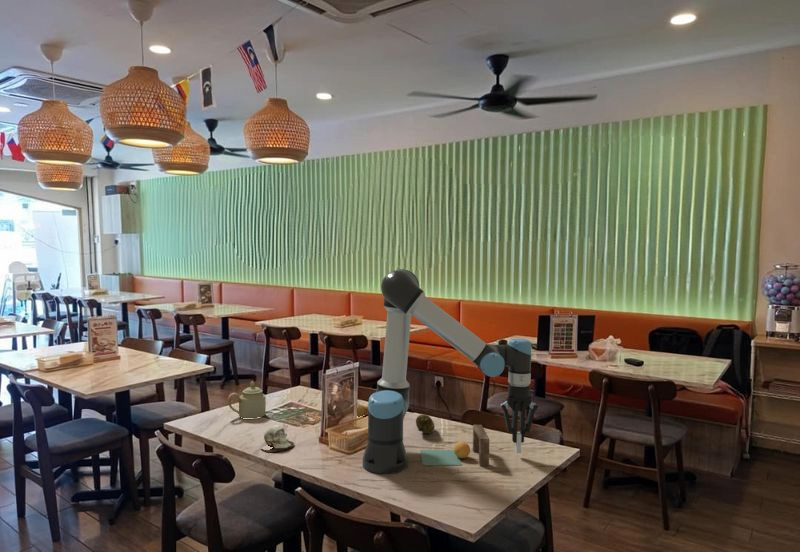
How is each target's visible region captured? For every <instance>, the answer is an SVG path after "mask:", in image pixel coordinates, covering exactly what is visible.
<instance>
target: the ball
mask: <svg viewBox="0 0 800 552" xmlns="http://www.w3.org/2000/svg"><path fill="white" fill-rule="evenodd" d="M453 450H454V453H455V455H456V456H457V457H459V459H466V458H468V456H470V452H471V448H470V445H469V444H468V443H467V442H466V441H458V442H457V443H456V444H455V445H454V447H453Z"/></svg>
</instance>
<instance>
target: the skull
mask: <svg viewBox="0 0 800 552" xmlns="http://www.w3.org/2000/svg"><path fill="white" fill-rule="evenodd" d="M263 439H264V442H265V444H266V445H268V446H270V447H273V448H272V449H270V450H266V451H265V450H264V451H263V452H270V453H272V452H280V451H285V450H288V449H291V448H292V447H294V445H295V442H293V441H290V440H289V438H288V433H287V432H286V431H285V429H284V427H282V426H281V425H276V424H274V425H271V426H270V427H269V428H268V429H266V431H265V432H264V435H263Z"/></svg>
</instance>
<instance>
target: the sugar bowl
mask: <svg viewBox="0 0 800 552" xmlns="http://www.w3.org/2000/svg"><path fill="white" fill-rule="evenodd" d="M249 384H250V386H249V387H246V388H245V389H244V390H242V394H241V395H239V394H238V393H237V392H232V393H230V394H229V395H228V397H227V405H228V407H229V408H230V409H231V411H234V412H235V413H237V414H238V417H239V416H240V417H242V418H257V417H262V416H264V415H265V416H266V407H267V405H266V401H267V399H266V394H264V393H262V392H263V391H264V390H263V389H261V388H260V387H258V386H256V383H255V382H254V381H253V380H252V381H251V382H250V383H249ZM233 396H236V399H237V402H238V410H237V409H235V408H234V407H233V406H232V403H231V400H232V397H233ZM265 416H264V417H265ZM240 417H239V418H240ZM242 418H241V419H242ZM262 418H263V417H262Z"/></svg>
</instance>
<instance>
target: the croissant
mask: <svg viewBox="0 0 800 552" xmlns="http://www.w3.org/2000/svg"><path fill="white" fill-rule="evenodd" d="M356 403H357V416H358V417H360V416H363V415H366V414H367V413H368V405H367V406H366V405H362V404H359V403H358V402H356ZM367 415H368V414H367ZM367 415H366V416H367Z"/></svg>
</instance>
